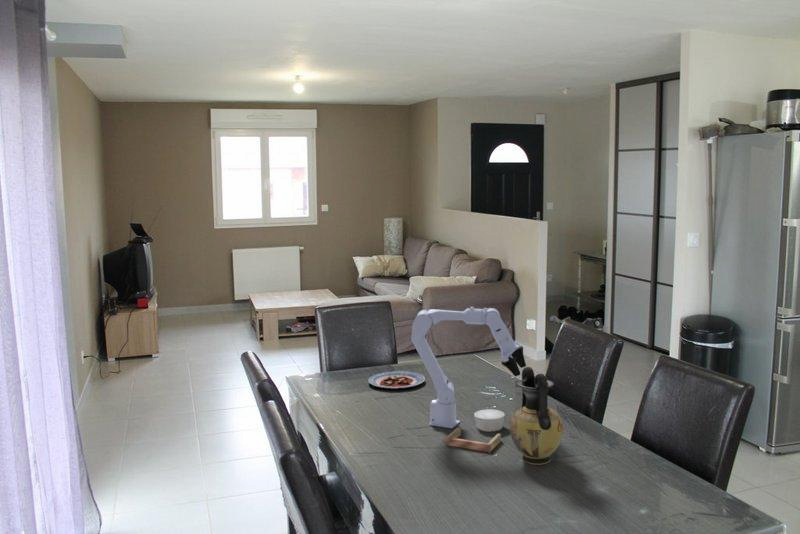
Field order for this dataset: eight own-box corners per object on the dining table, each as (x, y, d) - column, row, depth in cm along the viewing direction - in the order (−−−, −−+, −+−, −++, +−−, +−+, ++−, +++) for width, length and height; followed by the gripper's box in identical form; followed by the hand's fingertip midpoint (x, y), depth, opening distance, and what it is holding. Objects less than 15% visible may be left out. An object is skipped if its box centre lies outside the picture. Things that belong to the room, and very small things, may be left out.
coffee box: (532, 430, 253) (532, 387, 251) (514, 429, 254) (514, 386, 252) (532, 421, 262) (532, 380, 260) (515, 420, 263) (515, 379, 261)
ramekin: (468, 428, 257) (468, 414, 256) (486, 420, 265) (485, 407, 264) (493, 435, 249) (493, 421, 248) (510, 426, 257) (510, 413, 256)
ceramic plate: (425, 391, 303) (425, 385, 303) (366, 392, 303) (366, 386, 303) (424, 375, 328) (424, 369, 328) (370, 376, 329) (369, 370, 329)
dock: (445, 444, 241) (445, 437, 241) (457, 434, 251) (457, 427, 251) (490, 452, 233) (489, 445, 233) (500, 440, 243) (500, 433, 243)
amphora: (499, 454, 231) (498, 367, 227) (542, 445, 238) (542, 360, 234) (529, 474, 215) (529, 380, 211) (574, 464, 222) (574, 373, 218)
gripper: (507, 342, 246) (524, 375, 247) (518, 328, 259) (535, 359, 260) (490, 349, 250) (508, 381, 251) (502, 334, 262) (519, 365, 263)
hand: (520, 371), depth 255 cm, fingers open, 7 cm apart
